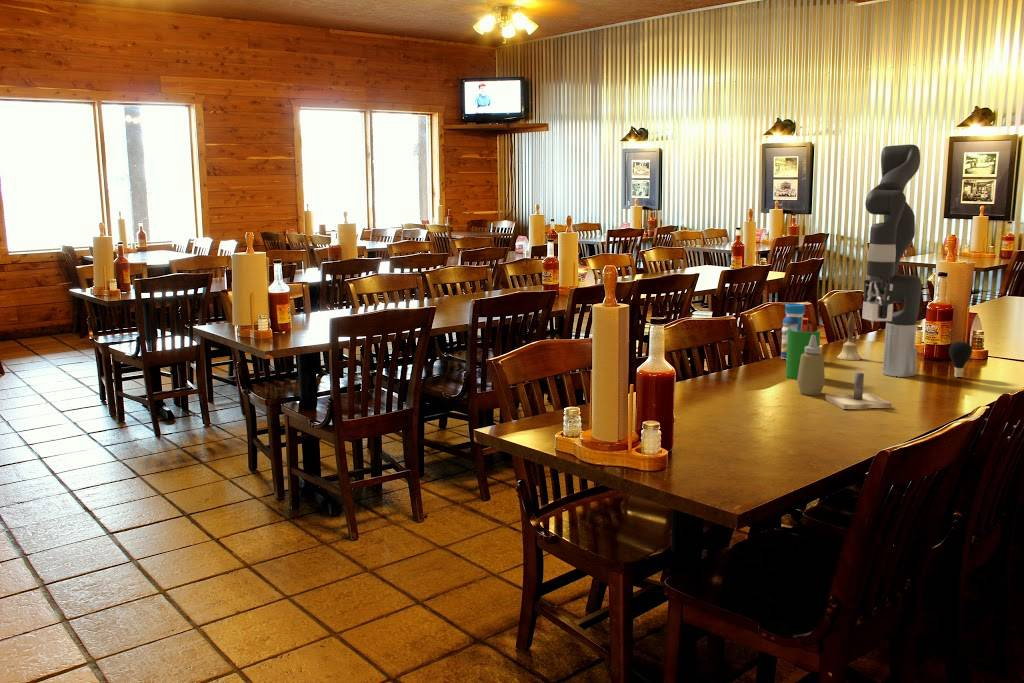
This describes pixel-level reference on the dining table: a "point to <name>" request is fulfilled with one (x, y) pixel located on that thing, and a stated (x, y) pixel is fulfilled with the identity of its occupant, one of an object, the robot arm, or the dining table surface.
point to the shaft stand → (858, 397)
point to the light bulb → (960, 356)
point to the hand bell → (850, 343)
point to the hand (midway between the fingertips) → (876, 316)
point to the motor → (798, 347)
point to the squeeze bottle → (811, 369)
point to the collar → (875, 311)
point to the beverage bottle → (791, 323)
